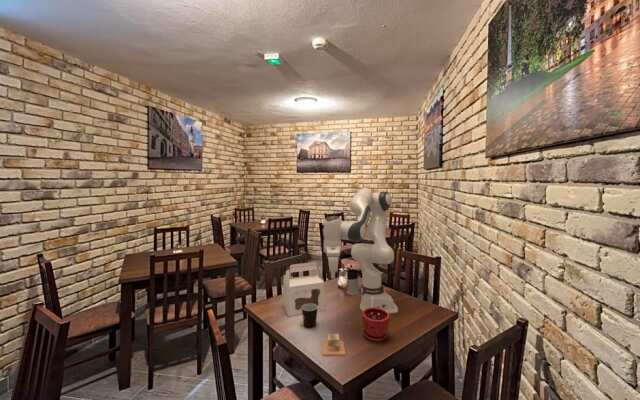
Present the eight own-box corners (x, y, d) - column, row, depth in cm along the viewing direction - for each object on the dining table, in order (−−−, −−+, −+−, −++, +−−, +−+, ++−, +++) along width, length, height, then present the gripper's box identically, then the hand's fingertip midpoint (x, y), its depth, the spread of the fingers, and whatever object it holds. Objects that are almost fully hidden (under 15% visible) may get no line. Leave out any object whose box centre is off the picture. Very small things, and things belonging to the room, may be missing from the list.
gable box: (288, 316, 161) (287, 268, 159) (283, 307, 174) (282, 262, 171) (324, 310, 169) (324, 264, 167) (317, 301, 181) (317, 258, 179)
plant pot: (356, 336, 141) (356, 313, 140) (372, 326, 150) (372, 304, 149) (379, 347, 132) (379, 322, 131) (394, 336, 141) (394, 313, 140)
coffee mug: (302, 321, 156) (302, 303, 156) (318, 321, 156) (317, 303, 155) (300, 332, 145) (300, 313, 144) (317, 332, 144) (317, 313, 144)
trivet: (343, 342, 136) (343, 341, 136) (345, 355, 126) (345, 354, 126) (322, 342, 135) (322, 341, 135) (322, 355, 125) (322, 354, 125)
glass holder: (360, 294, 191) (360, 273, 190) (339, 294, 191) (339, 273, 190) (358, 289, 200) (358, 268, 199) (338, 289, 200) (338, 269, 199)
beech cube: (338, 344, 133) (338, 333, 133) (339, 350, 128) (339, 339, 128) (327, 344, 133) (327, 333, 133) (328, 350, 128) (328, 340, 128)
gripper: (325, 243, 154) (325, 268, 156) (326, 253, 134) (326, 282, 135) (337, 243, 155) (337, 268, 156) (340, 253, 134) (340, 281, 135)
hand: (332, 274), depth 145 cm, fingers open, 8 cm apart
